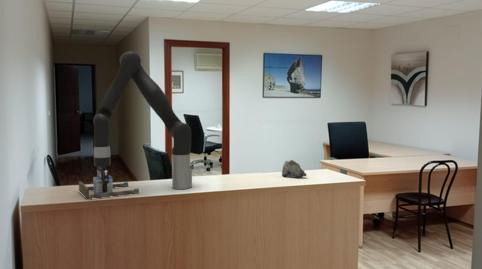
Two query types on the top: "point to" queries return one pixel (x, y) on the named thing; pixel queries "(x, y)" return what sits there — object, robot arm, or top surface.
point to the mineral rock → (292, 169)
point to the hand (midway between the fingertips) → (103, 190)
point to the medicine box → (98, 185)
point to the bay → (85, 192)
